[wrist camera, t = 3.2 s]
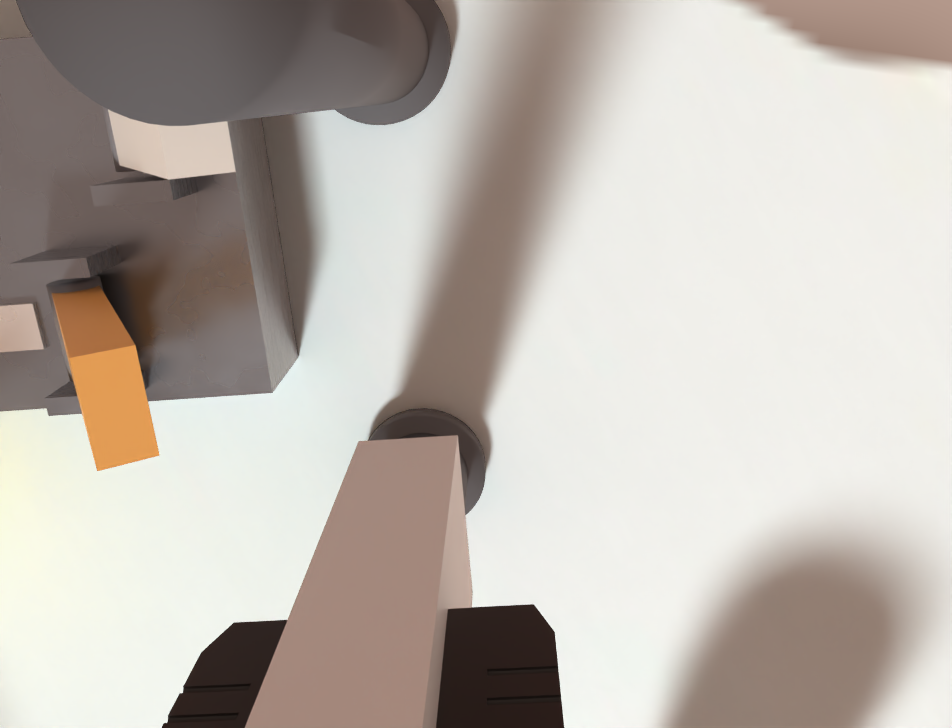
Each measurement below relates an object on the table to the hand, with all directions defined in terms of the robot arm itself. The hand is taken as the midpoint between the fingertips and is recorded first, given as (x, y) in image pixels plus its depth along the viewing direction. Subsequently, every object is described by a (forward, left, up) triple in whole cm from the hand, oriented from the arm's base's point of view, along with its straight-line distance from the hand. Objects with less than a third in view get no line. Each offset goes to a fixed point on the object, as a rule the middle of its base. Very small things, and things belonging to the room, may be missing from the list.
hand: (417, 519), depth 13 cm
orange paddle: (-12, 0, -15) cm, 19 cm away
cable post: (-2, +8, -20) cm, 21 cm away
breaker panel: (-12, +3, -20) cm, 23 cm away
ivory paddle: (-9, +6, -15) cm, 18 cm away
